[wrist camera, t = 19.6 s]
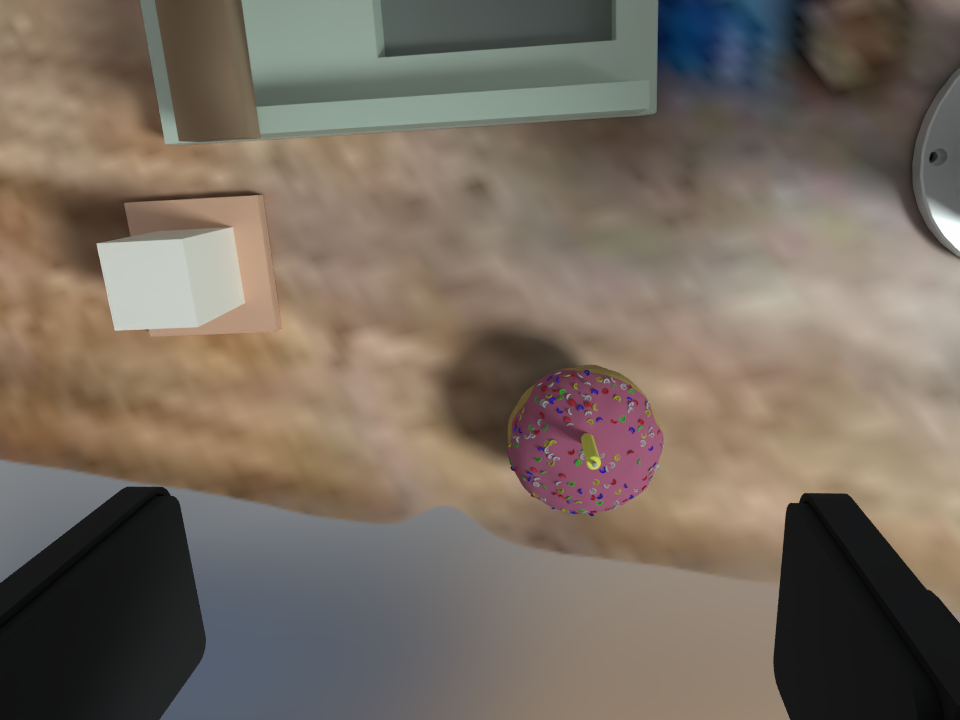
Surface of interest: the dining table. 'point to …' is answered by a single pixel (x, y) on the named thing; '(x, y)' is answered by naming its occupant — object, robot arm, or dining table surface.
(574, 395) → the cupcake
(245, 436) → the dining table surface
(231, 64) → the latch bar
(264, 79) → the puzzle board
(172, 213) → the terracotta coaster
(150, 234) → the cream block
